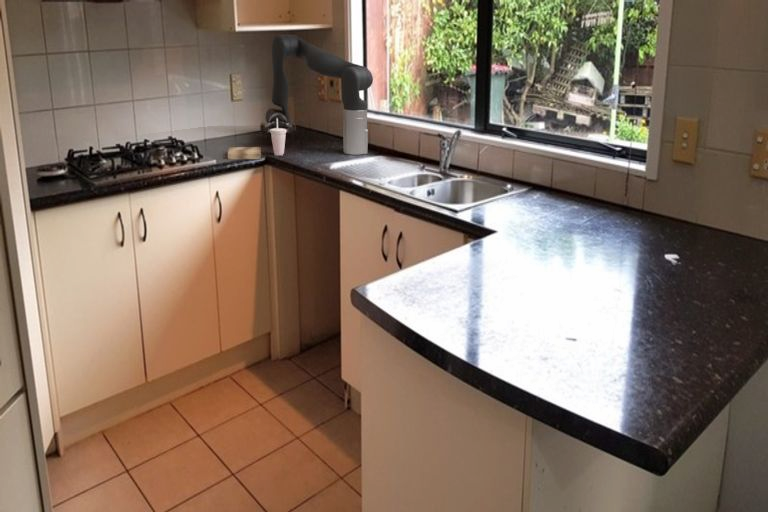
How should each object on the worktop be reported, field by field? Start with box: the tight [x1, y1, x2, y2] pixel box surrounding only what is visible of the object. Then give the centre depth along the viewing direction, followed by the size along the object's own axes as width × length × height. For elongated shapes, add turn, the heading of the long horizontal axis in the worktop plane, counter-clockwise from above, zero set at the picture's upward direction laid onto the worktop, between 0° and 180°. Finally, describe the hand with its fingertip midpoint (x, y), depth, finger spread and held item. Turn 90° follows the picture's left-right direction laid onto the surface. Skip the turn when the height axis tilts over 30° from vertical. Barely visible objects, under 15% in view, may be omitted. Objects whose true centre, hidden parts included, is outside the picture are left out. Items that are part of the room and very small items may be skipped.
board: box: [227, 146, 262, 160], centre depth 273 cm, size 12×12×2 cm
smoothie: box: [269, 118, 288, 156], centre depth 274 cm, size 6×6×14 cm
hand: (278, 130), depth 281 cm, fingers open, 8 cm apart
